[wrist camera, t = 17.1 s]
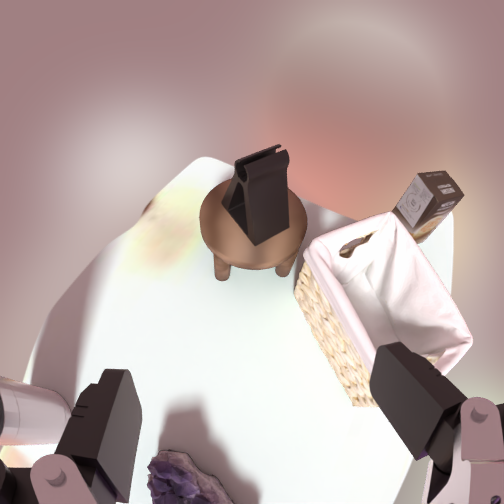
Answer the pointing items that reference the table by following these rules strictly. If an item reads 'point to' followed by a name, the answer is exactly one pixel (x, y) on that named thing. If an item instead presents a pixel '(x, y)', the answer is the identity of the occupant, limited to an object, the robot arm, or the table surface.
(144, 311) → the table surface
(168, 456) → the geode
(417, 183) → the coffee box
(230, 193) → the phone stand
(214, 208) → the stool
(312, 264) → the storage basket
